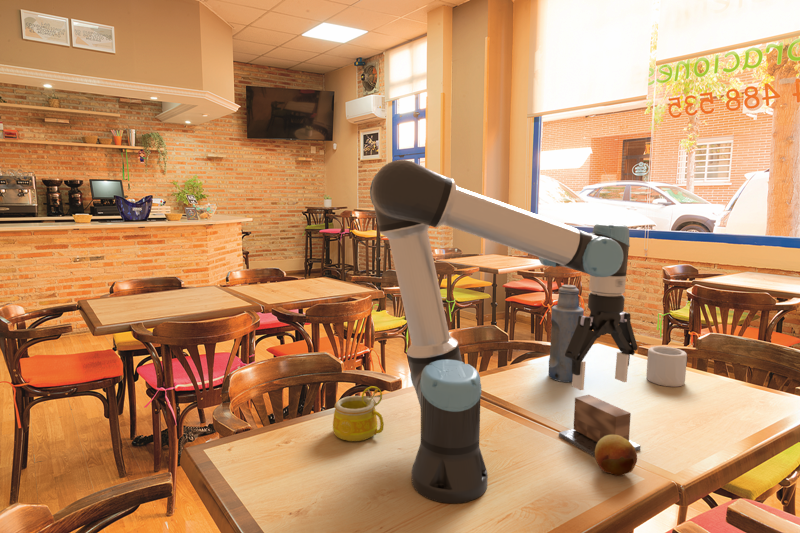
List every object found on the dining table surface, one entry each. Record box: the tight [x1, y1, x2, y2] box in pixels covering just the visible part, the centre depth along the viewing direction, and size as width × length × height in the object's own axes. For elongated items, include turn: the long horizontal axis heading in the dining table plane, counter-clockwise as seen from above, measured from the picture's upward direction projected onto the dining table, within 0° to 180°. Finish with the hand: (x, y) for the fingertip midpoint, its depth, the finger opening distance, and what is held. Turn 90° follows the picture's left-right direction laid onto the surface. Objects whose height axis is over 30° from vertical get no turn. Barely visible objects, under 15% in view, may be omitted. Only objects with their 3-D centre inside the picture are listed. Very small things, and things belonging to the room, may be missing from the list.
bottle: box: [548, 284, 585, 383], centre depth 158 cm, size 10×10×30 cm
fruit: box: [594, 435, 638, 477], centre depth 102 cm, size 8×8×8 cm
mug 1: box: [332, 385, 385, 442], centre depth 119 cm, size 13×11×12 cm
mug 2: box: [645, 345, 688, 388], centre depth 157 cm, size 14×11×10 cm
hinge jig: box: [558, 428, 641, 458], centre depth 116 cm, size 12×13×4 cm
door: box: [573, 394, 632, 442], centre depth 115 cm, size 12×4×8 cm, turn 26°
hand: (599, 384), depth 114 cm, fingers open, 13 cm apart
